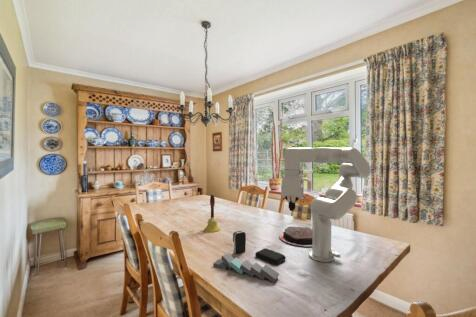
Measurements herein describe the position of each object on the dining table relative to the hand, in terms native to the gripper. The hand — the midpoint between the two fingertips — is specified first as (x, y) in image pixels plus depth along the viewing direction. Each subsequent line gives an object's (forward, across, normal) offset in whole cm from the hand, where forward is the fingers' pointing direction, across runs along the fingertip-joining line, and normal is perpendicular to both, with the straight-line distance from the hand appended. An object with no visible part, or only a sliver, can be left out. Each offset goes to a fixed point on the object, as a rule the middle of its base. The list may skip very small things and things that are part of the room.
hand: (291, 210), depth 114 cm
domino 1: (+27, +27, +16) cm, 41 cm away
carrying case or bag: (+28, +12, -3) cm, 30 cm away
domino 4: (+26, +12, +17) cm, 33 cm away
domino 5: (+26, +7, +17) cm, 32 cm away
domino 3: (+26, +18, +17) cm, 36 cm away
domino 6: (+26, +2, +17) cm, 31 cm away
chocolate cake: (+28, +3, -38) cm, 47 cm away
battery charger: (+27, +30, -2) cm, 41 cm away
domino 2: (+26, +24, +16) cm, 38 cm away
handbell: (+27, +64, -27) cm, 75 cm away
